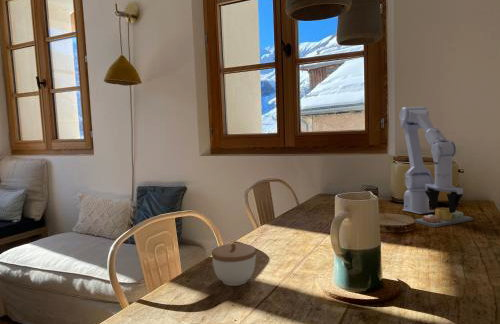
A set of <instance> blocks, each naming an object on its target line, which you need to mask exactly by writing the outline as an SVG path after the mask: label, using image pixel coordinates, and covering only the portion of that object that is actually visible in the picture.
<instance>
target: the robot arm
mask: <svg viewBox="0 0 500 324" xmlns="http://www.w3.org/2000/svg"><path fill="white" fill-rule="evenodd" d="M398 115H399V116H398V117H399V123H400V127H401V129H403V132H404V136H405V142H406V143H405V144H406V149H407V154H408V161H409V165H410V168H409V169H407V171H406V172H405V174H404V176H405V179H404V184H405V187H406V189H407V190H405V192H404V194H403V209H402V211H405V212H409V213H413V214H417V215H418V214H419V215H424V214H429V213H435V209H436V208H439V207H438V205H439V195H440V193H441V192H443V193H444V192H445V193H446V196H447V200H448V208H449V212H450V213H454V212H455V211H457V207H458V205H459V202H460V200H461V198H462V197H463V194H464V188H463V187H462V188H461V187H458V186H453V157H454V156H455V155H456V153H457V152H456V151H457V148H456V147H457V146H456V144H455V143H454V141H452V140H449V139H446V137H445V135H444V134H443V132H442V131H441V130H440V128H437V127H435V126H434V125H433V123H432V121H431V119H430V118H429V116H430V112H429V109H428V107H427V106H425V105H424V106H403V107H402V108H401V109H400V112H399V114H398ZM419 129H422V131H424V133H425V134H424V138H425V140H426V141H427V142H428V144H429V146H430V147H431V149H430V150H431V152H430V153H431V155H432V161H433V162H434V177H433V175H432V171H431V170H430V169H429V168H427V167H426V166H425V164H424V160H423V154H422V149H421V148H422V147H421V144H420V143H421V142H420V137H419V132H418V131H419ZM429 200H430V203H429ZM430 206H431V209H430Z"/></svg>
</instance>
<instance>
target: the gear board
mask: <svg viewBox="0 0 500 324" xmlns="http://www.w3.org/2000/svg"><path fill="white" fill-rule="evenodd" d="M473 218H474V217H471V216H468V215H467V216H466V215H465V213H464V212H462V211H458V210H456V211H455V212H454V213H452V219H451V220H440V217H438V216H435V214H428V215H424V214H423V216H422V217H421V218H415V219H414V220H413V222H414V221H415V222H414V223H415V224H419V225H424V226H427V227H430V228H431V227H432V228H438V227H445V226H449V225H454V224H459V223H465V222H470V221H474V220H473Z"/></svg>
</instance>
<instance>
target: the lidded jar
mask: <svg viewBox="0 0 500 324" xmlns="http://www.w3.org/2000/svg"><path fill="white" fill-rule="evenodd" d="M256 254H257V251H256V248H255V247H254V246H253V245H251V244H248V243H247V244H246V243H235V242H231V243H228V244H223V245H218V246H217V247H215V248H213V249H212V250H211V258H212V267H213V270H214V273H215V275H216V276H217V278H218V279H219V280H220V281H222V283H223V284H224V285H225V286H230V287H231V286H232V287H234V286H241V285H245V284H246V283H247V282H248V280H250V278H251V276H252V275H253V273H254V272H255V269H256V268H255V266H256Z"/></svg>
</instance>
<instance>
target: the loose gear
mask: <svg viewBox="0 0 500 324" xmlns="http://www.w3.org/2000/svg"><path fill="white" fill-rule="evenodd" d="M434 216H438V217H440V220H451V219H452V213H450V212H449V207H437V208H436V209H434Z"/></svg>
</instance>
